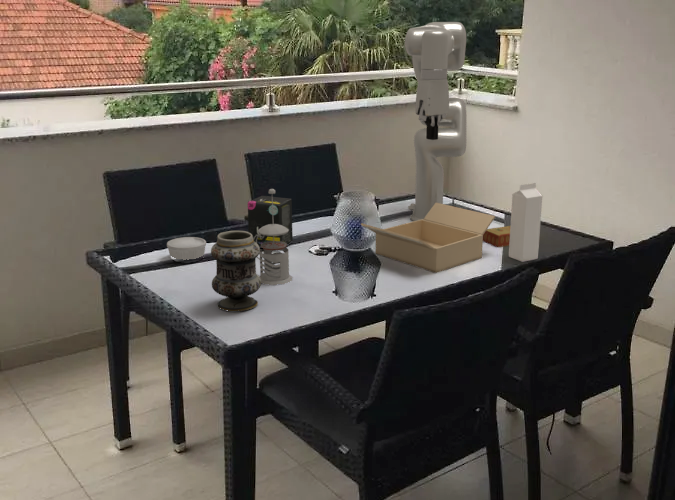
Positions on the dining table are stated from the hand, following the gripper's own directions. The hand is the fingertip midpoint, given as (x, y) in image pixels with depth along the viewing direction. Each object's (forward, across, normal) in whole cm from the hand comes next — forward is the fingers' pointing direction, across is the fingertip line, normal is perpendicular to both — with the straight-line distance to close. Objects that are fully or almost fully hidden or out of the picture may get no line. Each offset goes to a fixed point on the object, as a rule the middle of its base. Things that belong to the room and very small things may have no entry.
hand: (432, 139), depth 222 cm
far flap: (+24, -6, +6) cm, 25 cm away
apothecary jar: (+33, +71, +1) cm, 78 cm away
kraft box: (+33, +7, +6) cm, 34 cm away
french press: (+33, +53, -9) cm, 63 cm away
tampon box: (+33, +35, -34) cm, 59 cm away
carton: (+34, -24, +13) cm, 43 cm away
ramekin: (+33, +61, -40) cm, 80 cm away
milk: (+33, -12, +26) cm, 44 cm away
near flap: (+24, +20, +6) cm, 32 cm away
